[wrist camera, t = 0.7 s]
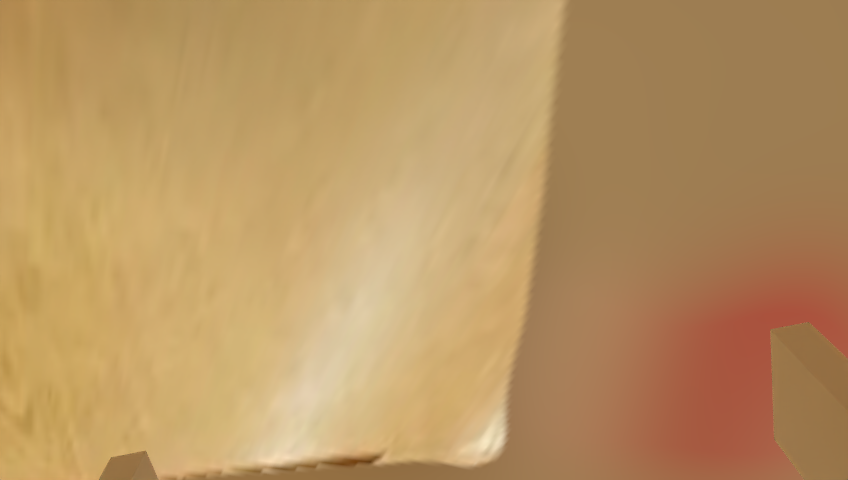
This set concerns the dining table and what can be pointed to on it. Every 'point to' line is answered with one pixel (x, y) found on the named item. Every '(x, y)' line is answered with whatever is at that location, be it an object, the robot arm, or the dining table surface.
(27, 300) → the dining table surface
